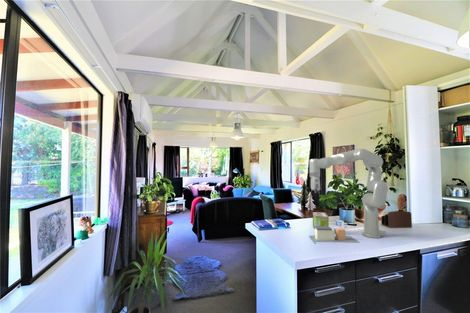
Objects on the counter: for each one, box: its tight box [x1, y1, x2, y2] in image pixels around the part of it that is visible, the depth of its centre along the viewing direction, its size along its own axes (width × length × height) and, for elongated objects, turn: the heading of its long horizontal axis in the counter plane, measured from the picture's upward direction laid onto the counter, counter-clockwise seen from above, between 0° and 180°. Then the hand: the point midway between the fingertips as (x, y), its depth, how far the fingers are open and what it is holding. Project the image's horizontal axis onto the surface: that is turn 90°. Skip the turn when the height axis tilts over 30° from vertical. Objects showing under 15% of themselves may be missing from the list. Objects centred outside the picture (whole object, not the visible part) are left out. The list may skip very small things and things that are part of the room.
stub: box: [335, 227, 346, 240], centre depth 161 cm, size 5×4×7 cm
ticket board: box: [308, 226, 360, 245], centre depth 162 cm, size 30×14×9 cm, turn 87°
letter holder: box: [380, 210, 413, 229], centre depth 198 cm, size 10×20×14 cm, turn 91°
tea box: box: [312, 211, 330, 233], centre depth 181 cm, size 15×10×15 cm, turn 168°
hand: (315, 197), depth 174 cm, fingers open, 9 cm apart
